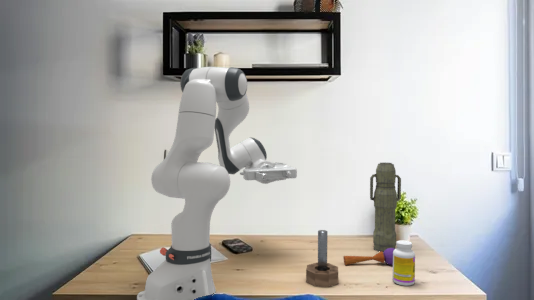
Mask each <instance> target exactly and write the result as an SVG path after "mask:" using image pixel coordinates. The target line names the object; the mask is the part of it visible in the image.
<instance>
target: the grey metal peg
mask: <svg viewBox="0 0 534 300" xmlns="http://www.w3.org/2000/svg"><path fill="white" fill-rule="evenodd" d="M317 263H318V271H327V263H328V230H325V229H319V230H318V231H317Z"/></svg>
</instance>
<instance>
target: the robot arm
mask: <svg viewBox="0 0 534 300" xmlns="http://www.w3.org/2000/svg"><path fill="white" fill-rule="evenodd" d="M179 84H180V90H181V92H182V93H181V98H180V103H179V108H178V114H177V115H178V116H177V123H176V129H175V136H174V140H173V143H172V145H171V148H170V149H169V151H168V153H167V155H166V156H165V158H164V159H163V160H162V161H161V162H160V163H158V164H157V165H156V166H155V168H154V169H153V171H152V173H151V179H150V180H151V185H152V188H153V190H154V191H155V192H157V193H158V194H159V195H163V196H166V197H168V198H176V199H184V206H183V208H182V209H183V210H182V211H181V212H179V213H177V214H176V215H175V216H174V217H173V218H172V221H171V246H170V247H169V248H168V249H167V248H166V247H162V248H160V249H159V254H161V255H162V256H163V257H165V260H164V261H163V262H162V263H161V264H160V265H159V266H158V267H156V268H155V269H154V270H153V271H152V272H151V273H149V274H148V275H147V278H146V281H145V287H144V290H143V291H140V292H139V291H138V293H137V295H136V300H194V299H196V298H198V297H202V296H206V295H209V294H213V293H214V294H215V293H216V291H217V290H216V289H217V288H216V286H215V283H214V279H213V274H212V273H213V272H212V265H211V261H212V244H211V242H210V240H211V239H210V238H211V237H210V236H211V235H210V231H211V219H212V214H213V211H214V210H215V208H216V206H217V204H218V203H219V202H220V201H221V200H222V199H224V198H225V197H226V195H228V192H229V189H230V186H231V177H230V175H235V174H237V173H239V175H240V176H243V180H245V181H256V182H258V183H261V184H265V185H267V184H270V183H274V182H278V181H279V182H280V181H285V180H287V179H297V177H298V170H297V168H296V167H294V166H291V165H287V163H285V162H273V161H270V160H269V161H268V160H267V157H268V156H267V151H266V149H265V147H264V145H263V143H262V142H261V141H260V140H259V139H257V138H255V137H251V136H250V137H247V138H245V139H244V140H242V141H240V142H239V143H237V144H234V145H233V146H230V144H231V143H230V136H231V134H232V133H233V131H234V130H235V129H236V128H237V127H238V126H239V125H240V124H241V123H243V121H245V119H246V118H247V116H248V114H249V112H250V102H249V97H248V94H247V91H248V79H247V75H246V74H245V72H244V71H243V70H241V68H237V67H223V66H219V67H218V66H204V67H191V68H189V69H185V71H184V72H183V73H182V75H181V78H180V83H179ZM217 109H218V110H217ZM217 111H218V112H217ZM214 137H215V140H216V147H217V152H218V154H217V155H218V157H217V158H218V164H219V165H218V164H216V163H211V162H202V161H201V162H198V160H199V158H200V156H201V154H202V153H203V152H204V151H205V150H207V149H209V148H210V147H211V146H212V144H213V143H214ZM241 170H242V171H241ZM214 294H213V295H214Z"/></svg>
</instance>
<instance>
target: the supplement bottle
mask: <svg viewBox="0 0 534 300" xmlns="http://www.w3.org/2000/svg"><path fill="white" fill-rule="evenodd" d="M412 247H413V243H412V242H411V241H409V240H405V239H404V240H403V239H401V240H396V249H395V250H394V251H393V265H392V282H393V283H395V284H397V285H400V286H407V287H409V286H413V285H414V284H415V282H416V281H415V279H416V253H415V251H414V250H413V248H412Z"/></svg>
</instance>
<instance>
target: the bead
mask: <svg viewBox="0 0 534 300" xmlns="http://www.w3.org/2000/svg"><path fill="white" fill-rule="evenodd" d="M305 282H306V283H307V284H310V285H312V286H314V287H323V288H331V287H333V286H337V285H339V266H337V265H335V264H332V263H329V262H327V271H318V262H313V263H310V264H307V265H306V270H305Z"/></svg>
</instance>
